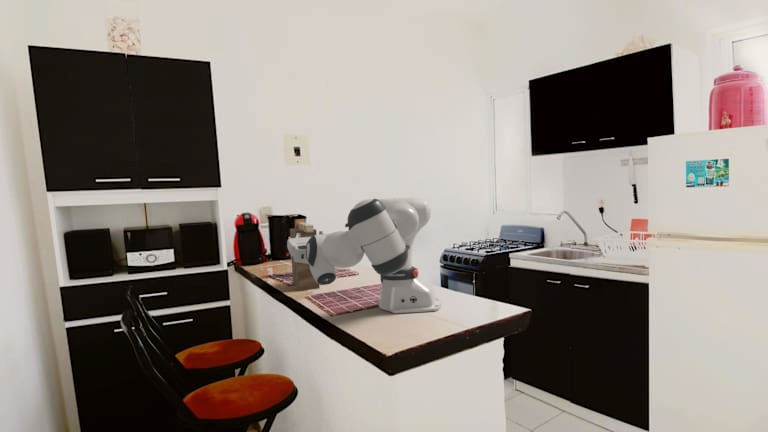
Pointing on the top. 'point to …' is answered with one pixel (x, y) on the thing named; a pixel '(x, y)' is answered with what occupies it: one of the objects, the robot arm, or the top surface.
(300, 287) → the stand
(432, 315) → the top surface
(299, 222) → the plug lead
